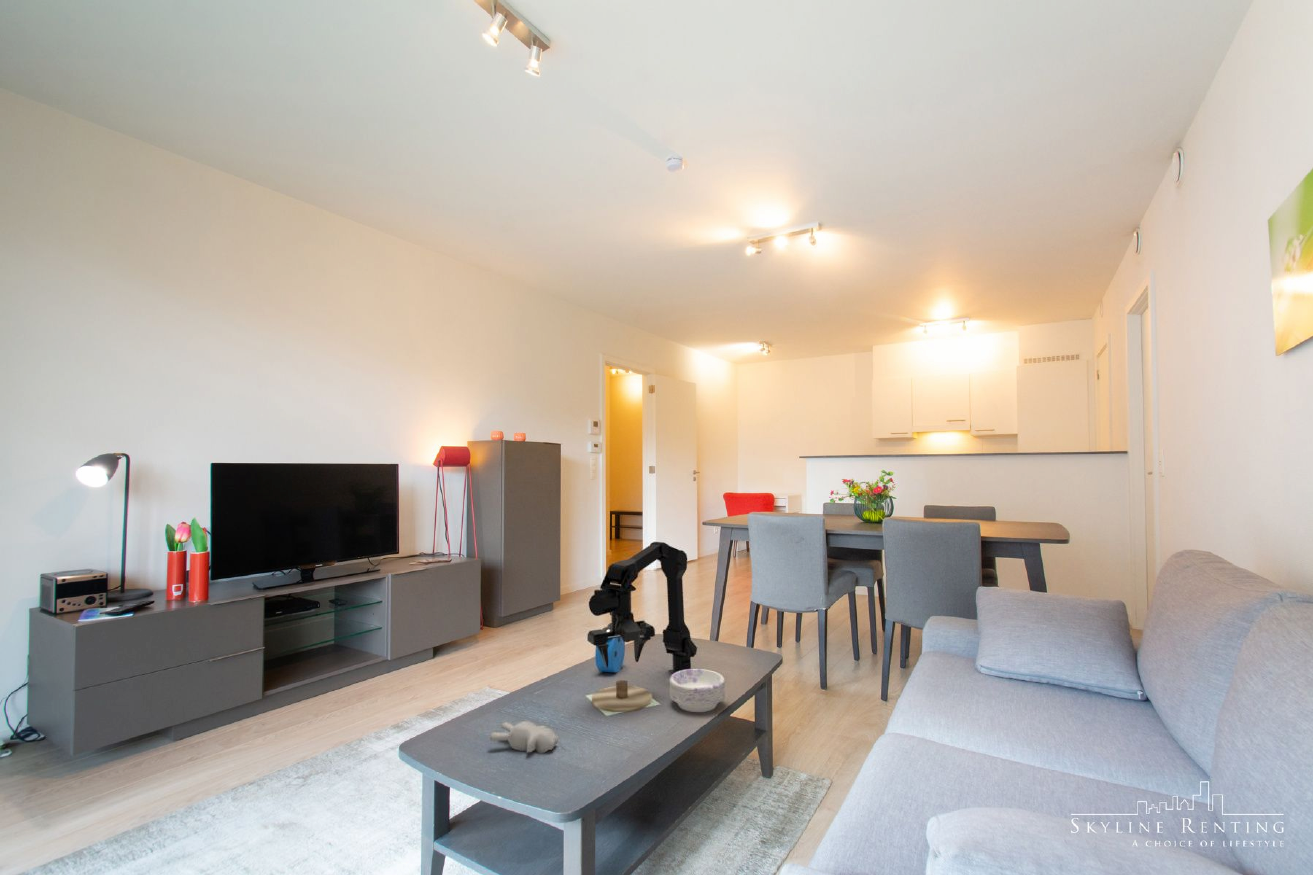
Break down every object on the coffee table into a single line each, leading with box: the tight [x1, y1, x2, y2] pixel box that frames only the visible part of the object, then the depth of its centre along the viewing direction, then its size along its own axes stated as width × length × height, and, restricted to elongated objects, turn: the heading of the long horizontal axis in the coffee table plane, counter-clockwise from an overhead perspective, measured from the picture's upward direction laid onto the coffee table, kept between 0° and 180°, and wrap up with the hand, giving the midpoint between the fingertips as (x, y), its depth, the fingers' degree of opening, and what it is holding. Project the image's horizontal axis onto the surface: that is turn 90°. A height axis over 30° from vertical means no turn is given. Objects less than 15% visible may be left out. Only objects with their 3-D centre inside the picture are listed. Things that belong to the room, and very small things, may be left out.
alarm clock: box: [594, 622, 626, 674], centre depth 194 cm, size 13×6×15 cm, turn 165°
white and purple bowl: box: [669, 668, 726, 713], centre depth 165 cm, size 15×15×8 cm
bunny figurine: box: [489, 720, 559, 754], centre depth 142 cm, size 10×5×15 cm
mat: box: [585, 685, 661, 717], centre depth 168 cm, size 16×16×1 cm
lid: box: [591, 679, 653, 713], centre depth 169 cm, size 17×17×5 cm
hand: (621, 664), depth 169 cm, fingers open, 9 cm apart
